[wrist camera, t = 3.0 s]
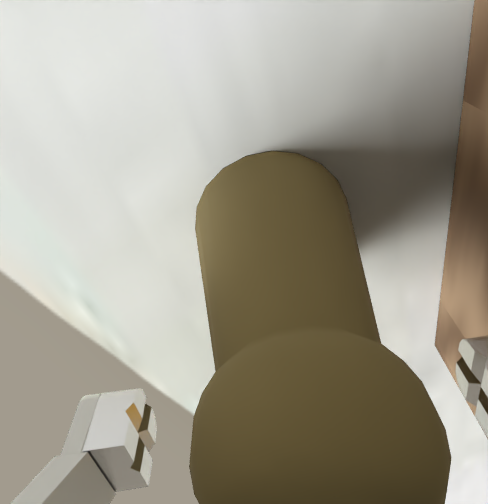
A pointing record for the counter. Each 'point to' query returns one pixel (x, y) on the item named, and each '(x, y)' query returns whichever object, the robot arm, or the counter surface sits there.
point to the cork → (301, 354)
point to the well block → (468, 211)
